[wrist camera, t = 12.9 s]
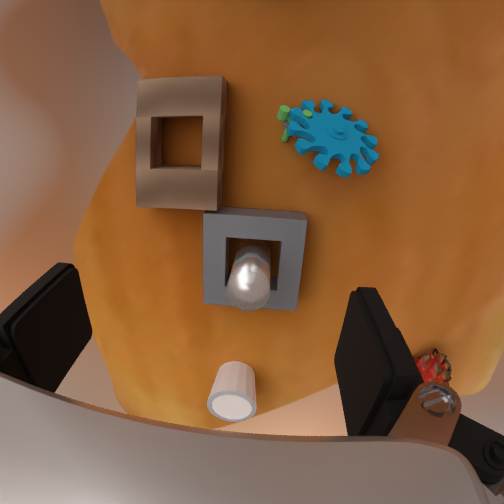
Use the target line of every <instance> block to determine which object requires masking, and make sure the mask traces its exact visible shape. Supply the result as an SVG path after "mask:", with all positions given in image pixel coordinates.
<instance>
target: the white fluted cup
mask: <svg viewBox="0 0 504 504" xmlns="http://www.w3.org/2000/svg"><path fill="white" fill-rule="evenodd" d="M207 407H208V409H209V411H210V412H211V413H212V414H213V415H214V416H216V417H217V418H219V419H222V420H225V421H231V422H239V421H245V420H247V419H249V418H251V417H253V415H254V414H255V413H256V388H255V373H254V371H253V369H252V368H251V367H250V366H249V365H247V364H245V363H243V362H239V361H231V362H227V363H225V364H223V365H222V366H221V367H220V368H219V370H218V373H217V376H216V378H215V381H214V384H213V387H212V389H211V392H210V395H209V398H208V400H207Z"/></svg>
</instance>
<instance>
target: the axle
mask: <svg viewBox="0 0 504 504" xmlns="http://www.w3.org/2000/svg"><path fill="white" fill-rule="evenodd" d="M226 292H227V297H228V299H229V301H230V302H231V303H232V304H233V305H234V306H235V307H237V308H239V309H241V310H245V311H253V310H257V309H259V308H261V307H263V306H264V305H265V304H266V303H267V301H268V299H269V296H270V248H269V245H268V244H267V243H266V242H265V241H264V240H259V239H245V240H243V241H242V242H241V243H240V245H239V247H238V250H237V253H236V257H235V260H234V264H233V267H232V271H231V274H230V278H229V281H228V285H227V290H226Z"/></svg>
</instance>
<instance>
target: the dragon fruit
mask: <svg viewBox="0 0 504 504" xmlns="http://www.w3.org/2000/svg"><path fill="white" fill-rule="evenodd" d="M435 351H436V353H439V352H438V350H437V349H436V348H435V349H432V350H431V351H430V352H429V353H427V354H425V355H422V356H421V357H420V358H418V359H414V361H415V363H416V365H417V367H418V369H419V371H420V373H421V376H422V378H423V380H424V382H429V381H435V382H440V383H444V384H446V385H448V386H449V383H447V382H449V381H450V380H451V376H450V375H451V373H450V372H451V364H449V362H448V360H446V357H447V356H446V355H444V354H440V355H439V356H437V357H436V356H434V355H433V354H434V352H435Z"/></svg>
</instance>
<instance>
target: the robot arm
mask: <svg viewBox="0 0 504 504" xmlns="http://www.w3.org/2000/svg"><path fill="white" fill-rule="evenodd" d="M91 336H92V327H91V323H90V319H89V316H88V312H87V308H86V304H85V299H84V295H83V291H82V286H81V282H80V277H79V272H78V270H77V269H76V268H75V267H74V265H73V264H69V263H60V262H59V263H57V264H56V265H54V266H53V267H52V268H51V269H50V270H48V271H47V272H46V273H45V274H44V275H43V276H41V277H40V278H39V279H38V280H37V281H36V282H35V283H33V284H32V285H31V286H30V287H29V288H28V289H27V290H25V292H23V293H22V294H21V295H20V296H19V297H18V298H17V299H15V300H14V301H13V302H12V303H11V304H10V305H9V306H8V307H7V308H6V309H5V310H4V311H3V312H2V313H1V314H0V504H504V436H503V435H501V434H499V433H497V432H495V431H493V430H491V429H489V428H487V427H485V426H484V425H482V424H480V423H478V422H476V421H474V420H472V419H470V418H468V417H466V416H464V415H462V414H460V412H461V401H460V398H459V396H458V394H457V393H456V392H455V391H454V390H453V389H452V388H451V387H449V386H448V385H446V384H444V383H440V382H435V381H429V382H424V380H423V378H422V376H421V373H420V371H419V369H418V367H417V365H416V363H415V361H414V358H413V356H412V354H411V352H410V350H409V348H408V346H407V344H406V342H405V340H404V338H403V336H402V334H401V332H400V330H399V329H398V328H396V326H395V324H394V322H393V320H392V318H391V316H390V314H389V312H388V310H387V308H386V307H385V305H384V303H383V301H382V299H381V297H380V295H379V293H378V291H377V290H376V288H371V287H358V288H357V290H356V291H352V292H351V294H350V297H349V302H348V306H347V310H346V314H345V318H344V322H343V326H342V330H341V334H340V338H339V342H338V345H337V349H336V353H335V358H334V364H335V369H336V374H337V379H338V384H339V388H340V394H341V400H342V405H343V411H344V416H345V422H346V428H347V433H348V436H287V435H267V434H252V433H239V432H230V431H221V430H212V429H205V428H198V427H191V426H185V425H179V424H173V423H167V422H162V421H156V420H151V419H147V418H142V417H137V416H133V415H129V414H124V413H120V412H116V411H112V410H108V409H104V408H101V407H97V406H94V405H90V404H87V403H84V402H80V401H77V400H74V399H71V398H67V397H65V396H62V395H59V394H56V393H55V391H56V390H57V388H58V386H59V385H60V383H61V382H62V380H63V379H64V377H65V376H66V374H67V372H68V371H69V370H70V368H71V367H72V365H73V364H74V362H75V361H76V359H77V358H78V356H79V355H80V353H81V352H82V350H83V349H84V347H85V346H86V345H87V343H88V342H89V340H90V339H91Z"/></svg>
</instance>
